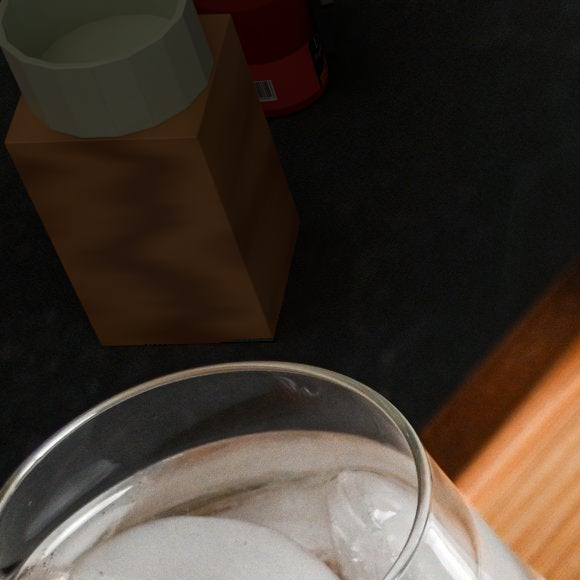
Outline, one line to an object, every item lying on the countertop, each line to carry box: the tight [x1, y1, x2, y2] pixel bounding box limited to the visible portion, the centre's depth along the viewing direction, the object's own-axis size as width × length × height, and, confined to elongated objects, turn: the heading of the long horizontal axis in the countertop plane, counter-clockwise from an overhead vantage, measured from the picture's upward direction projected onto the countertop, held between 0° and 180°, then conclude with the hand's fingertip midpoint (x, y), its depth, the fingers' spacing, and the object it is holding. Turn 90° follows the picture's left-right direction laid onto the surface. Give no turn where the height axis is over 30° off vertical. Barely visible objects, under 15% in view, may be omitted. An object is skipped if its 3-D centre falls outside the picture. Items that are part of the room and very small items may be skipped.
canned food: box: [193, 0, 329, 118], centre depth 142 cm, size 8×8×11 cm
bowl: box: [0, 0, 214, 138], centre depth 119 cm, size 12×12×5 cm
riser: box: [4, 14, 302, 347], centre depth 128 cm, size 12×12×17 cm
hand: (273, 70), depth 141 cm, fingers closed on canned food, 8 cm apart
